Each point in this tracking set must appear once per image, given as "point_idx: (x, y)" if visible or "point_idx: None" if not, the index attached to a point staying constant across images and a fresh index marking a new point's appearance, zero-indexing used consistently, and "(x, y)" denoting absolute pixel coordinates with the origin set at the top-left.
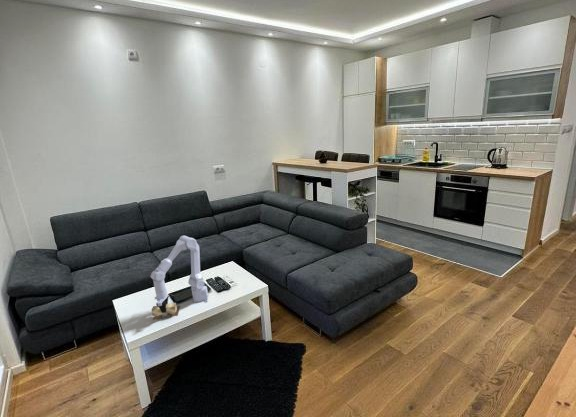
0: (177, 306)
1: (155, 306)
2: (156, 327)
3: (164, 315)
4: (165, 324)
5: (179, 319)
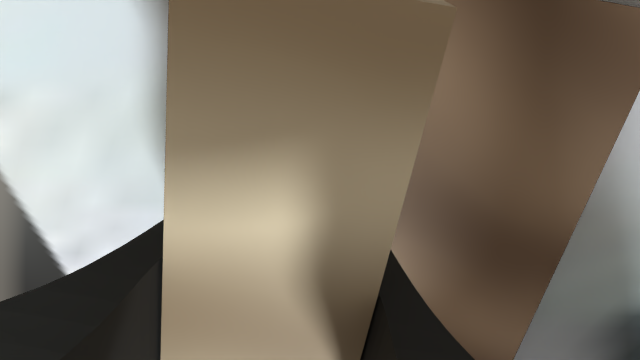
0: (500, 354)
1: (393, 101)
2: (6, 23)
3: None
4: (66, 170)
5: None
